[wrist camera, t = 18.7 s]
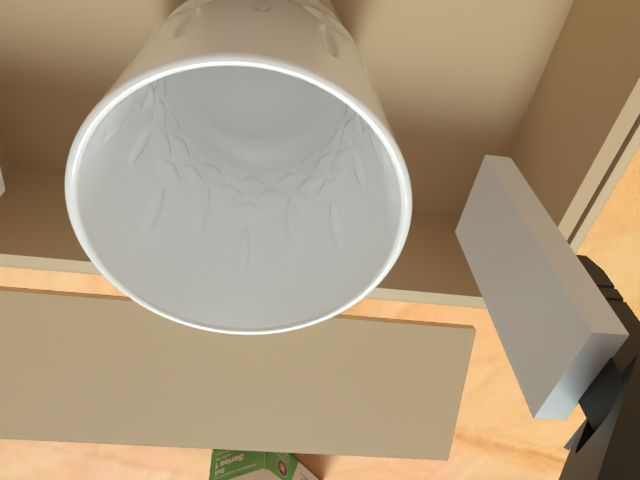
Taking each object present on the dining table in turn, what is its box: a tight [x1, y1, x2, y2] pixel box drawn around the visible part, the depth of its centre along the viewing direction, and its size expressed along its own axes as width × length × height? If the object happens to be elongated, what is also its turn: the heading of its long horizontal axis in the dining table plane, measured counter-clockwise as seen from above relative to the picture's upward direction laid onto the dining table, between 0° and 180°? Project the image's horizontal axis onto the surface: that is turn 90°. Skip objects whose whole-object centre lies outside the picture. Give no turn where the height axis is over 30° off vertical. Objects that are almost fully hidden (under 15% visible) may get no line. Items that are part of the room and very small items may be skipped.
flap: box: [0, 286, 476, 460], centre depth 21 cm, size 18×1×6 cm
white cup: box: [65, 0, 412, 335], centre depth 16 cm, size 8×8×10 cm
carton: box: [0, 0, 640, 309], centre depth 19 cm, size 23×13×6 cm, turn 81°
